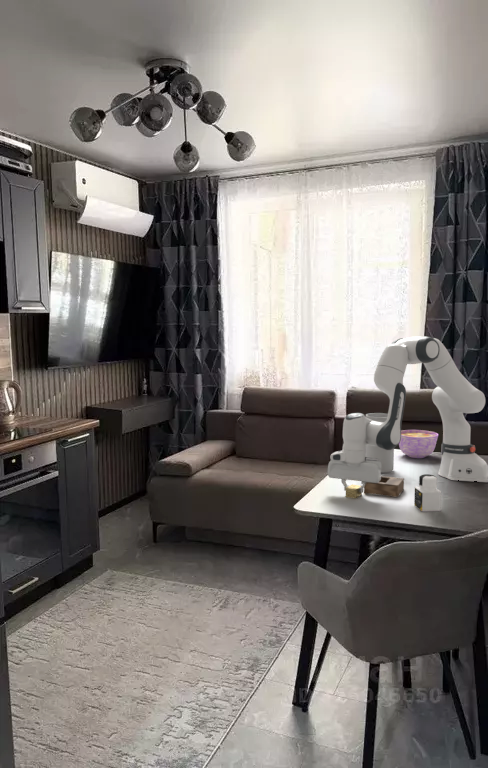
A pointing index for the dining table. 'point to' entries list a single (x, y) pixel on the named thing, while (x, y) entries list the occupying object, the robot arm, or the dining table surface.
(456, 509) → the dining table surface
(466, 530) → the dining table surface
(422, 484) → the medicine bottle
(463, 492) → the dining table surface
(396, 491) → the brown wooden frame
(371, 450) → the cylinder vase
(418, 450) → the bowl of food
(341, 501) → the dining table surface
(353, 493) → the brushed brass pillar
